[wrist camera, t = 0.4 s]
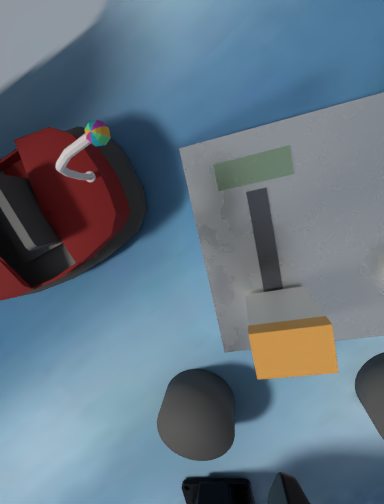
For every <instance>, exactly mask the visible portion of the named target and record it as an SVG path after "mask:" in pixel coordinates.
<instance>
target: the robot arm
mask: <svg viewBox="0 0 384 504" xmlns="http://www.w3.org/2000/svg"><path fill="white" fill-rule="evenodd" d="M182 490H183V494H184V497H185V500H186V504H255V502H254V497H253V493H252V489H251V484H250V482H249V481H248V480H246V479H196V480H184V481H183V483H182ZM268 504H310V503H309V501H308V499H307V497H306V496H305V494H304V492H303V490H302V489H301V487H300V485H299V483H298V482H297V480H296V479H295V478H294V477H293V476H291V475H288V474H285V473H283V472H279V473H278V474H277V476H276V478H275V480H274V483H273V485H272V487H271V489H270V492H269V495H268Z"/></svg>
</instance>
